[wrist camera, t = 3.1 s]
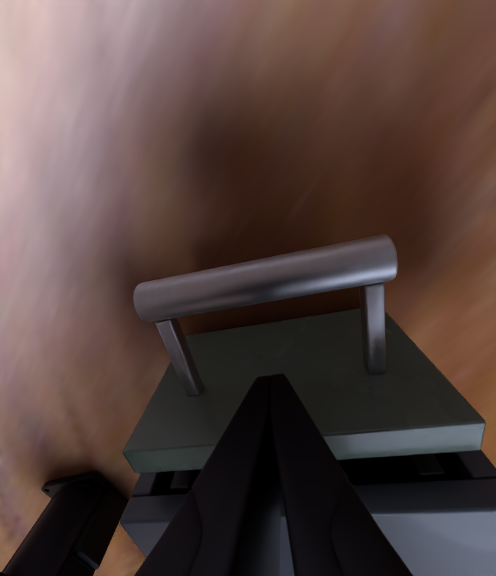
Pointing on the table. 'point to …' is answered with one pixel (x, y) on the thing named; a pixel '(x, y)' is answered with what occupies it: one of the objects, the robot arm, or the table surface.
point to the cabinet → (377, 517)
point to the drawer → (300, 369)
